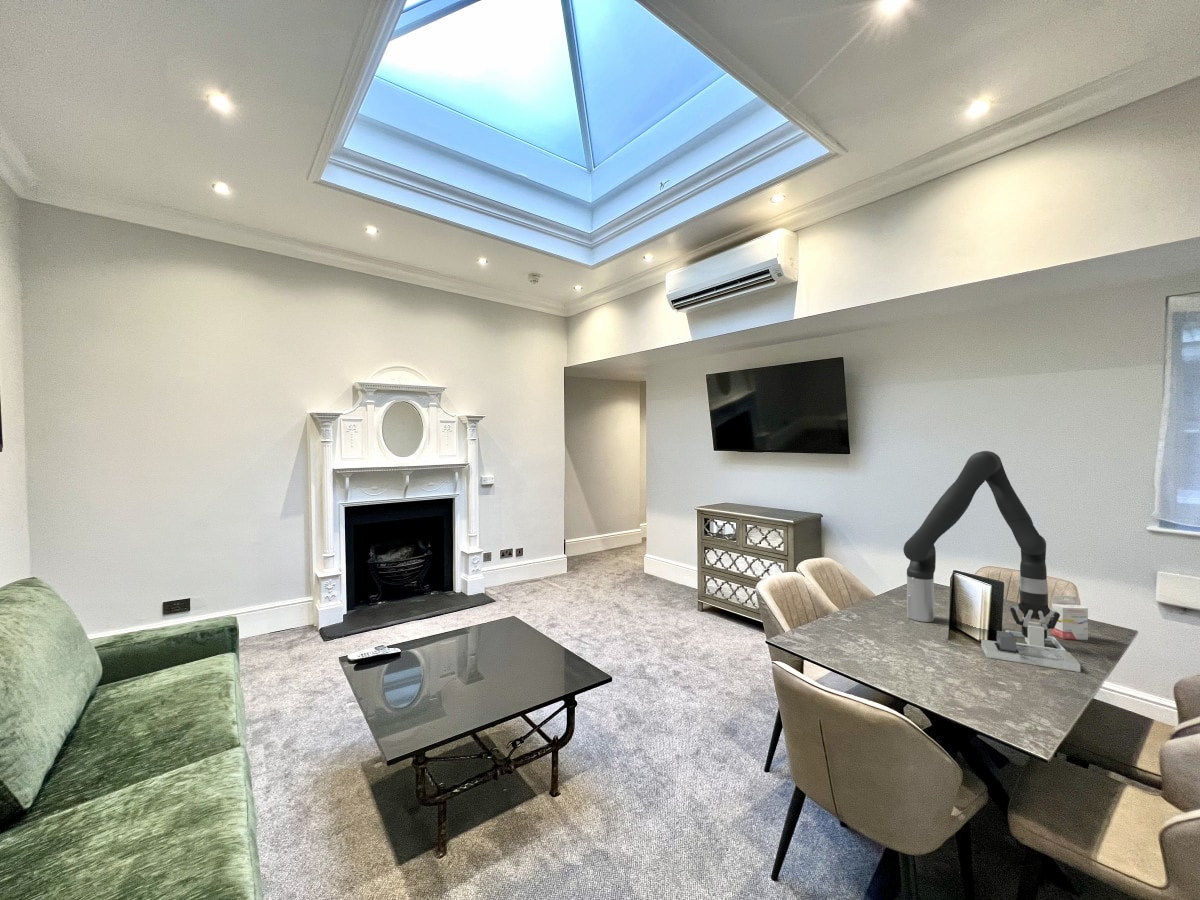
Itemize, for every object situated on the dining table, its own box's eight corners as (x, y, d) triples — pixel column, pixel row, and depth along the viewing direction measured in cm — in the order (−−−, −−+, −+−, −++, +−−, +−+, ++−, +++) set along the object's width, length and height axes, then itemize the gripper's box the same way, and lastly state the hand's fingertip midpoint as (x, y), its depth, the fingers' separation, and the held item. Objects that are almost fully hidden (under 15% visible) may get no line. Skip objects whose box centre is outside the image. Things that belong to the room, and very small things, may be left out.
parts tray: (1014, 647, 168) (1014, 643, 168) (1005, 634, 180) (1005, 630, 180) (1066, 655, 162) (1066, 650, 162) (1053, 640, 173) (1053, 636, 173)
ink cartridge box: (1063, 639, 174) (1062, 599, 174) (1051, 634, 179) (1051, 595, 179) (1089, 640, 173) (1088, 599, 173) (1076, 634, 178) (1076, 595, 178)
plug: (1029, 646, 169) (1028, 626, 169) (1024, 640, 174) (1024, 621, 174) (1044, 648, 167) (1043, 628, 167) (1039, 642, 172) (1039, 622, 172)
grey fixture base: (986, 657, 161) (986, 636, 161) (981, 646, 170) (981, 626, 170) (1080, 672, 149) (1080, 649, 149) (1069, 659, 158) (1069, 638, 158)
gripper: (1010, 590, 171) (1010, 638, 171) (1063, 595, 164) (1064, 645, 164) (1005, 584, 178) (1006, 630, 178) (1056, 589, 170) (1057, 638, 170)
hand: (1034, 637), depth 171 cm, fingers closed on plug, 4 cm apart
